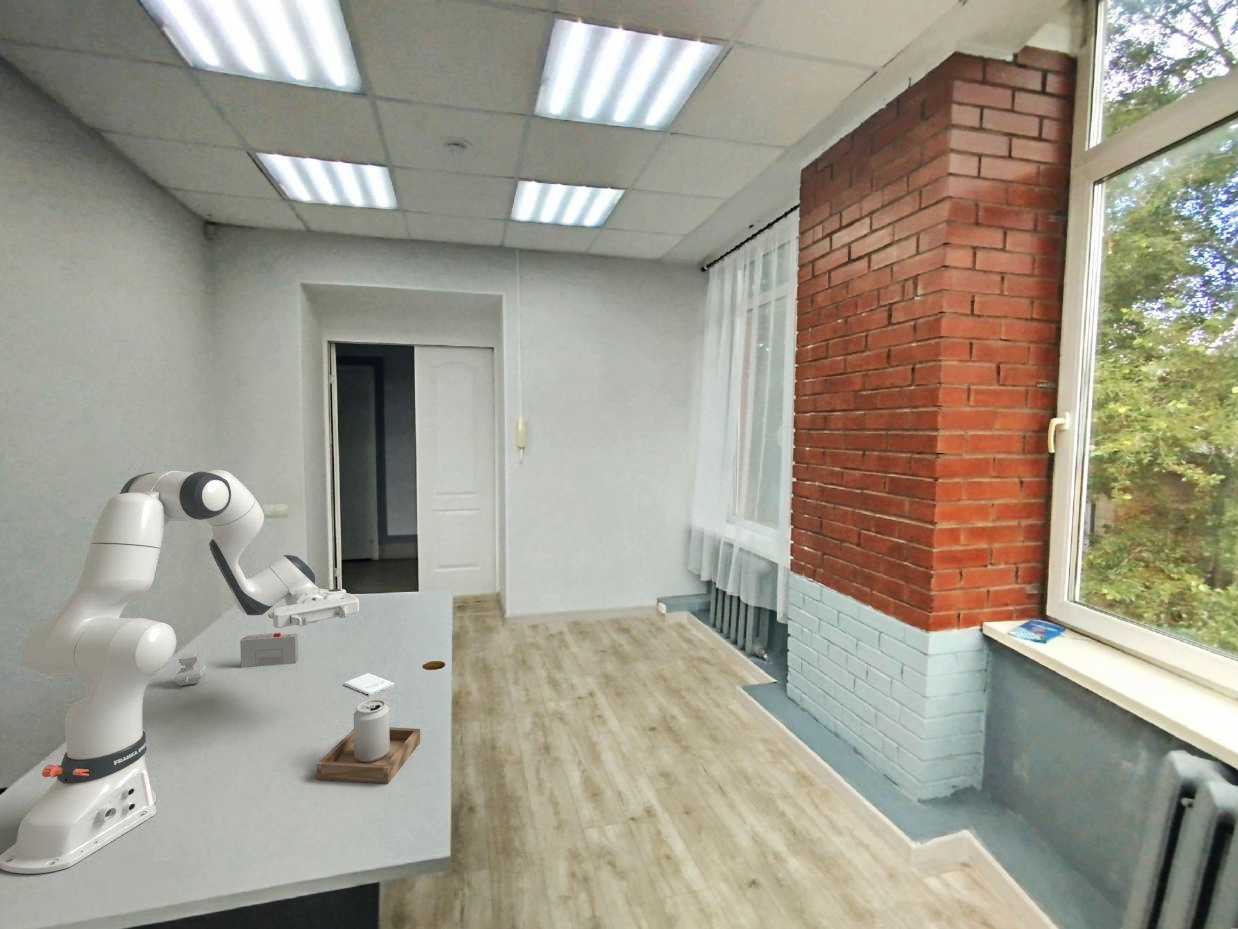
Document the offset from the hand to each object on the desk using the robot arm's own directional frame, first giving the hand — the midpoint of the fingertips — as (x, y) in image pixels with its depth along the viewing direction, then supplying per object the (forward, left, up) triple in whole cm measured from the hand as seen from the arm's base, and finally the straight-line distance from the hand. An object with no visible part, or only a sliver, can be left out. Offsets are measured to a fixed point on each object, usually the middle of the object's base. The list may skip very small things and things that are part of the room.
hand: (323, 618), depth 143 cm
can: (-13, -19, -27) cm, 36 cm away
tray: (-13, -19, -28) cm, 37 cm away
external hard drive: (+23, +1, -29) cm, 37 cm away
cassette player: (+35, +41, -28) cm, 60 cm away
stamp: (+20, +55, -28) cm, 65 cm away
